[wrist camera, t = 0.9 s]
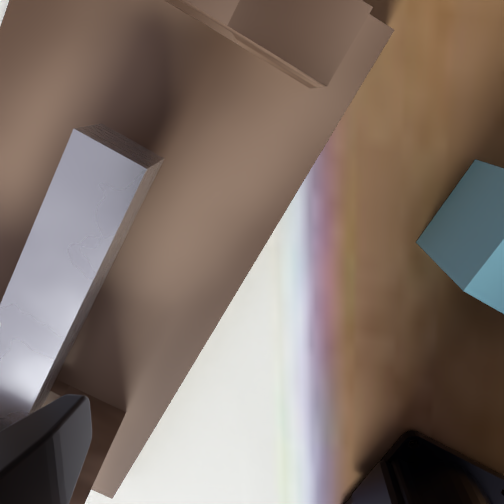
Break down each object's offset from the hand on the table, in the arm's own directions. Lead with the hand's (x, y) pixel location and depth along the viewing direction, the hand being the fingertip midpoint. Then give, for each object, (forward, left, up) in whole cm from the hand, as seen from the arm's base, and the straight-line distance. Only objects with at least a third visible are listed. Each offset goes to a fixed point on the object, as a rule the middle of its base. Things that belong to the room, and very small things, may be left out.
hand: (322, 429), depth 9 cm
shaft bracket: (+7, +3, -12) cm, 14 cm away
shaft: (+7, +11, -10) cm, 16 cm away
